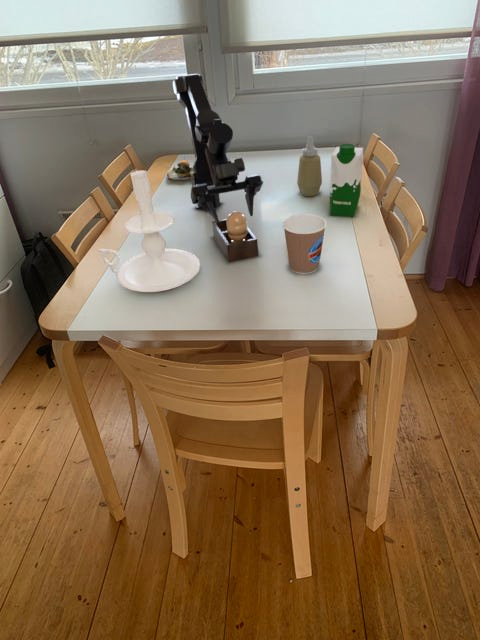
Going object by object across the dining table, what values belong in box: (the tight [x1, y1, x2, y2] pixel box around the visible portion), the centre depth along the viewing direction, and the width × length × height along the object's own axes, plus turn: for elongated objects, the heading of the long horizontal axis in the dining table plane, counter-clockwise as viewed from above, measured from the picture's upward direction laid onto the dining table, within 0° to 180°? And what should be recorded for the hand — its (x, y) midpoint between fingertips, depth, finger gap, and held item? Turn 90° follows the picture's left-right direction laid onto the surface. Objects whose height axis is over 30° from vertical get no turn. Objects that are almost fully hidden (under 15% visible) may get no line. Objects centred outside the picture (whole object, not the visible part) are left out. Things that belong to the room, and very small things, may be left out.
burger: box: [166, 156, 193, 181], centre depth 174 cm, size 12×12×8 cm
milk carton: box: [329, 143, 364, 218], centre depth 137 cm, size 9×9×20 cm
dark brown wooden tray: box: [211, 218, 259, 263], centre depth 128 cm, size 8×16×5 cm, turn 17°
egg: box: [226, 210, 248, 243], centre depth 122 cm, size 5×5×9 cm
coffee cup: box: [282, 213, 328, 275], centre depth 114 cm, size 10×10×12 cm
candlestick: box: [97, 169, 201, 293], centre depth 110 cm, size 21×25×28 cm
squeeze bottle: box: [296, 136, 323, 197], centre depth 150 cm, size 8×8×18 cm
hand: (235, 219), depth 122 cm, fingers open, 9 cm apart
